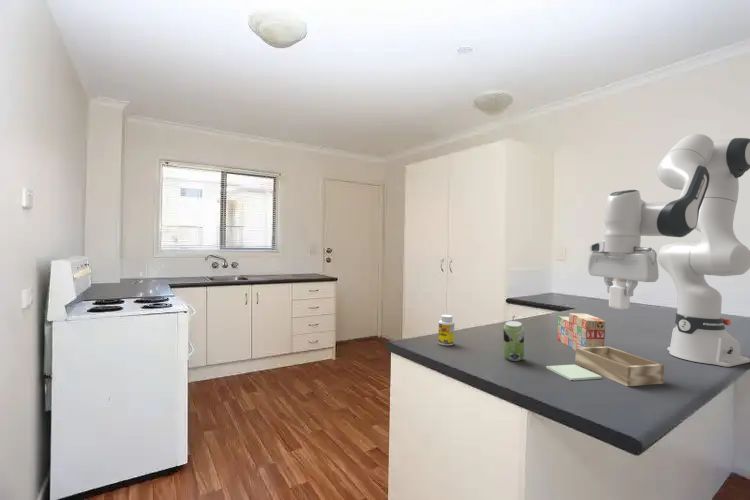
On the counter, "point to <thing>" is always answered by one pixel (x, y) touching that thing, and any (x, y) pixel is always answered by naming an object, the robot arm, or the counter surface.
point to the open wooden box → (620, 366)
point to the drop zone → (573, 372)
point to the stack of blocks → (581, 331)
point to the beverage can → (513, 340)
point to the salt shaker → (618, 295)
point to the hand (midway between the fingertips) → (619, 294)
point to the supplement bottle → (446, 330)
